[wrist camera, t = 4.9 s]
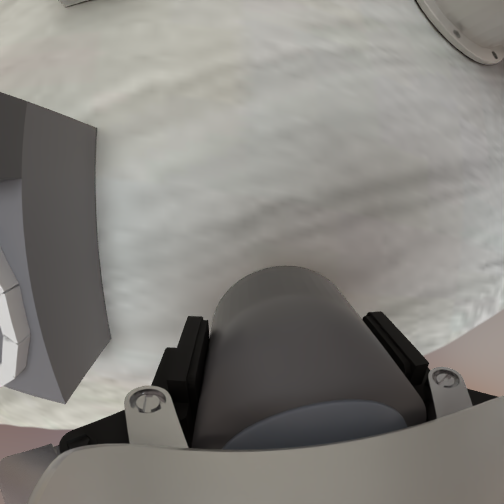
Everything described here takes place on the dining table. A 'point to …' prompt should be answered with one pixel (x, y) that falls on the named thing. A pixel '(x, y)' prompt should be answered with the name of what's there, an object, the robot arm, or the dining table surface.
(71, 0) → the supplement box
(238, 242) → the dining table surface
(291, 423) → the lens
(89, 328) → the camera body
